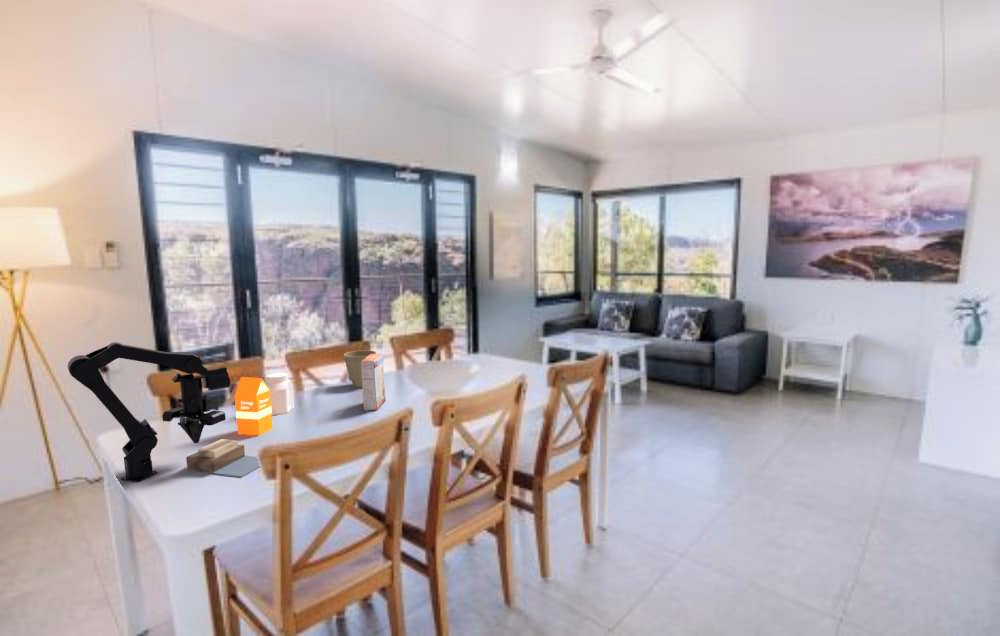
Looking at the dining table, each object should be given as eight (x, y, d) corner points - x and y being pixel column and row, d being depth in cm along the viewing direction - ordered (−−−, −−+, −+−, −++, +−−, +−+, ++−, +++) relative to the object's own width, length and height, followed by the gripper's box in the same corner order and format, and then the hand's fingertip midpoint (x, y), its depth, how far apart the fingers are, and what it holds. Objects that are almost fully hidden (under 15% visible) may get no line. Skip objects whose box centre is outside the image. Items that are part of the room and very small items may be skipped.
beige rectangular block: (198, 456, 153) (197, 449, 153) (222, 445, 162) (221, 439, 161) (214, 458, 151) (214, 451, 151) (237, 446, 160) (237, 440, 160)
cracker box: (372, 400, 222) (370, 353, 219) (386, 400, 221) (384, 353, 219) (362, 410, 208) (359, 360, 205) (377, 410, 208) (374, 360, 205)
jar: (284, 415, 204) (282, 378, 202) (261, 415, 204) (258, 378, 202) (297, 406, 215) (294, 371, 213) (274, 406, 215) (272, 371, 213)
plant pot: (339, 388, 242) (337, 355, 240) (357, 380, 256) (355, 349, 254) (366, 390, 238) (364, 357, 236) (383, 383, 252) (382, 351, 250)
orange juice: (259, 435, 181) (255, 380, 178) (237, 434, 182) (232, 379, 180) (273, 428, 188) (269, 375, 186) (252, 427, 190) (247, 374, 187)
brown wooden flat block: (187, 469, 153) (186, 457, 152) (219, 454, 164) (218, 442, 164) (214, 473, 150) (213, 460, 150) (245, 457, 162) (244, 445, 161)
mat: (213, 474, 150) (213, 472, 150) (246, 456, 162) (246, 455, 162) (241, 477, 147) (241, 476, 147) (272, 459, 160) (272, 458, 159)
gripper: (237, 388, 161) (240, 436, 163) (189, 385, 166) (193, 431, 168) (208, 398, 151) (213, 449, 153) (158, 394, 156) (163, 443, 158)
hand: (196, 442), depth 158 cm, fingers closed
